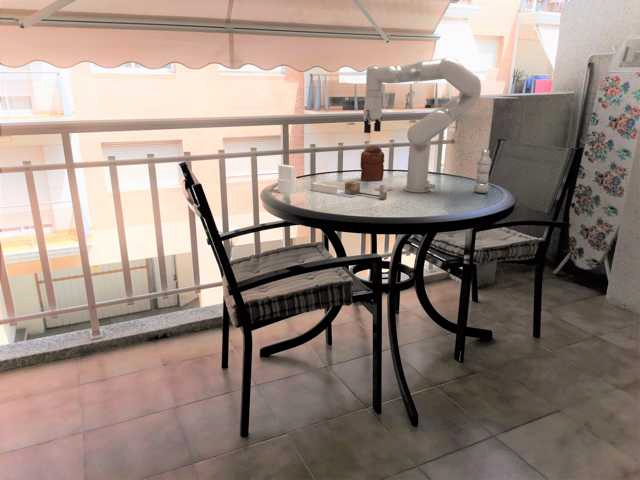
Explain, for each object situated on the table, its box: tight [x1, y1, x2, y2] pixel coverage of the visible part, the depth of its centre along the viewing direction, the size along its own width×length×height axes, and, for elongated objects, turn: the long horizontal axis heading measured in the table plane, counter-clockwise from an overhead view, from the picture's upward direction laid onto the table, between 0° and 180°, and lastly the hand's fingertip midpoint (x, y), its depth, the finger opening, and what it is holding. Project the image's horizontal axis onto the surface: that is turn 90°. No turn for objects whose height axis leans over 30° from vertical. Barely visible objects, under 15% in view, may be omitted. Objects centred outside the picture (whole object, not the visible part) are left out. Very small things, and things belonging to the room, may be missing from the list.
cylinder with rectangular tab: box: [277, 164, 298, 195], centre depth 221 cm, size 9×9×12 cm
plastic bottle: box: [473, 149, 492, 194], centre depth 219 cm, size 6×7×20 cm
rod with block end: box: [344, 180, 388, 200], centre depth 213 cm, size 20×5×6 cm, turn 55°
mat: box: [335, 190, 366, 198], centre depth 218 cm, size 8×12×1 cm
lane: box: [310, 179, 345, 195], centre depth 224 cm, size 14×10×4 cm
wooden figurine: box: [359, 145, 385, 182], centre depth 246 cm, size 12×6×18 cm, turn 101°
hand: (372, 132), depth 226 cm, fingers open, 9 cm apart
